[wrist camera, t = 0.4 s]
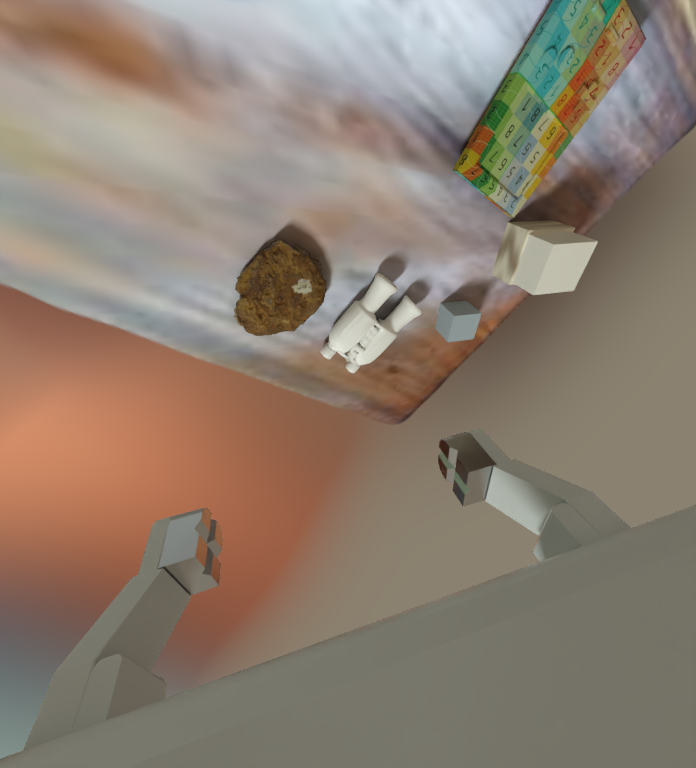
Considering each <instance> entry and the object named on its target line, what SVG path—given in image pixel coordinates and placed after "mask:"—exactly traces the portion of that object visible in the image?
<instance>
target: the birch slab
mask: <svg viewBox="0 0 696 768" xmlns="http://www.w3.org/2000/svg"><path fill="white" fill-rule="evenodd" d="M574 230H575V227H572V226H569V225H565V224H562V223H559V222H556V221H553V220H545V221H526V222H508V223H507V227H506V230H505V233H504V236H503V240H502V243H501V246H500V249H499V252H498V256H497V259H496V262H495V265H494V268H493V272H492V275H494V276H496V277H497V278H499V279H500V280H502V281H503V282H505V283H507V284H508V285H515V283H513V282H512V281H513V278H514V275H515V272H516V269H517V267H518V264H519V261H520V258H521V255H522V252H523V250H524V247H525V244H526V241H527V238H528V236H529V234H542V233H556V232H574Z"/></svg>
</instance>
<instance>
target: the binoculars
mask: <svg viewBox="0 0 696 768" xmlns="http://www.w3.org/2000/svg"><path fill="white" fill-rule="evenodd" d="M397 290H398V288H397V287H396V286H395V285H394V284H393V283H392V282H391V281H390V280H389V279H388V278H386V277H385V276H384V275H382V274H381V273H379V272H378V273H377V274H376V276H375V278H374V281H373V283H372V284H371V286H370V288H369V289H368V291H367V293H366V294H365V296H364V297H363V298H362V299H361V300H360V301H354V303H353V304H352V305H351V306H350V307H349V308H348V310H347V311H346V312H345V313H344V314H343V315H342V317H341V318H340V319H339V320H338V321H337V322H336V324H335V325H334V326H333V327H332V329H331V331H330V334H329V341H328V343H326V344H325V345H324V346H323V348H322V349H321V350H320V352H321V354H322V355H323V356H324V357H325V358H327V359H331V357H332V356H333V355H334V354H335V353H336V351H337V352H338V353H339V354H340V355H342V356H343V357H344V358H346V360H347V361H348V362H347V363H346V364H345V367H346V368H347V370H348V371H350V372H351V373H355V372H356V371H357V370H358V369H359V368H360V365H362V364H363V365H364V364H368V363H370V362H372V361H374V360H375V359H376V358H377V357H378V356H379V355H380V354H381V353H382V352H383V351H384V350H385V349H386V348H387V347H388V346H389V345H390V344H391V343H392V342H393V341H394V340H395V338H396V337H397V334H398V331H399V330H400V329H401V328H402V327H403V326H404V325H406V324H407V323H408V322H410V321H411V320H412V319H413V318H415V317H417V316H419V315H421V313H422V312H421V311H420V309H419V308H418V307H417V306H416V305H415V304H414V303H413V302H412V301H411V300H410V298H409V297H408V296H407V295H405V296H404V297H403V299H402V301H401V302H400V304H399V305H398V306H397V307H396V308H395V309H394V310H393V311H392V312H391V313H390V314H389V316H388V317H387V318H386V319H385V320H381V319H378V321H377V319H376V316H375V315H374V313H375V312H376V311H377V310H378V309H379V308H380V307H381V305H382V304H383V303H384V302H385V301H386V300H387V299H388V298H389V297H390V296H391V295H392V294H393V293H395V292H396V291H397ZM351 349H352V350H351ZM350 350H351V351H350ZM348 351H350V352H349V353H348V354H346V353H345V352H348Z"/></svg>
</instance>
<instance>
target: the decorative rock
mask: <svg viewBox="0 0 696 768" xmlns="http://www.w3.org/2000/svg"><path fill="white" fill-rule="evenodd" d="M320 270H321V264H320V263H319V261H318V260H313V259H311V258H310V254H309V253H306V251H305V250H303V249H302V248H301V247H300V246H297V247H291V246H290V245H288V244H287V243H286V242H285V241H283V240H276V241H274V242H272V245H271V246H270V247H268V248H266V249H264V250H262V251H261V252H259V253H258V254H257V256H256V257H255V258H254V259H253V261H252V262H251V263H250V264H249V265H248V266H247V267H246V268H245V269H244V270H243V271H242V272H241V273H240V276H239V277H238V278H237V279H238V282H237V283H236V288H235V289H236V290H237V292H238V293H239V294H240V295H241V299H239V300H238V301H237V302H236V308H235V309H234V311H235V316H234V317H236V320H237V322H238V324H240V325H241V326H243V327H244V329H245V330H246V332H248V333H251V334H253V335H256V336H263V335H272V334H277V333H279V332H284V331H295V330H296V329H297V327H299V325H300V324H304V322H305V321H306V320H307V319H308V318H309V317H310V316H311V315H313V314H314V313H315V312H316V311H317V309H318V308H319V307H320V306H321V305H322V303H323V302H324V297H325V292H326V290H327V289H326V280H324V279H323V277H322V275H321V271H320Z"/></svg>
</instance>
